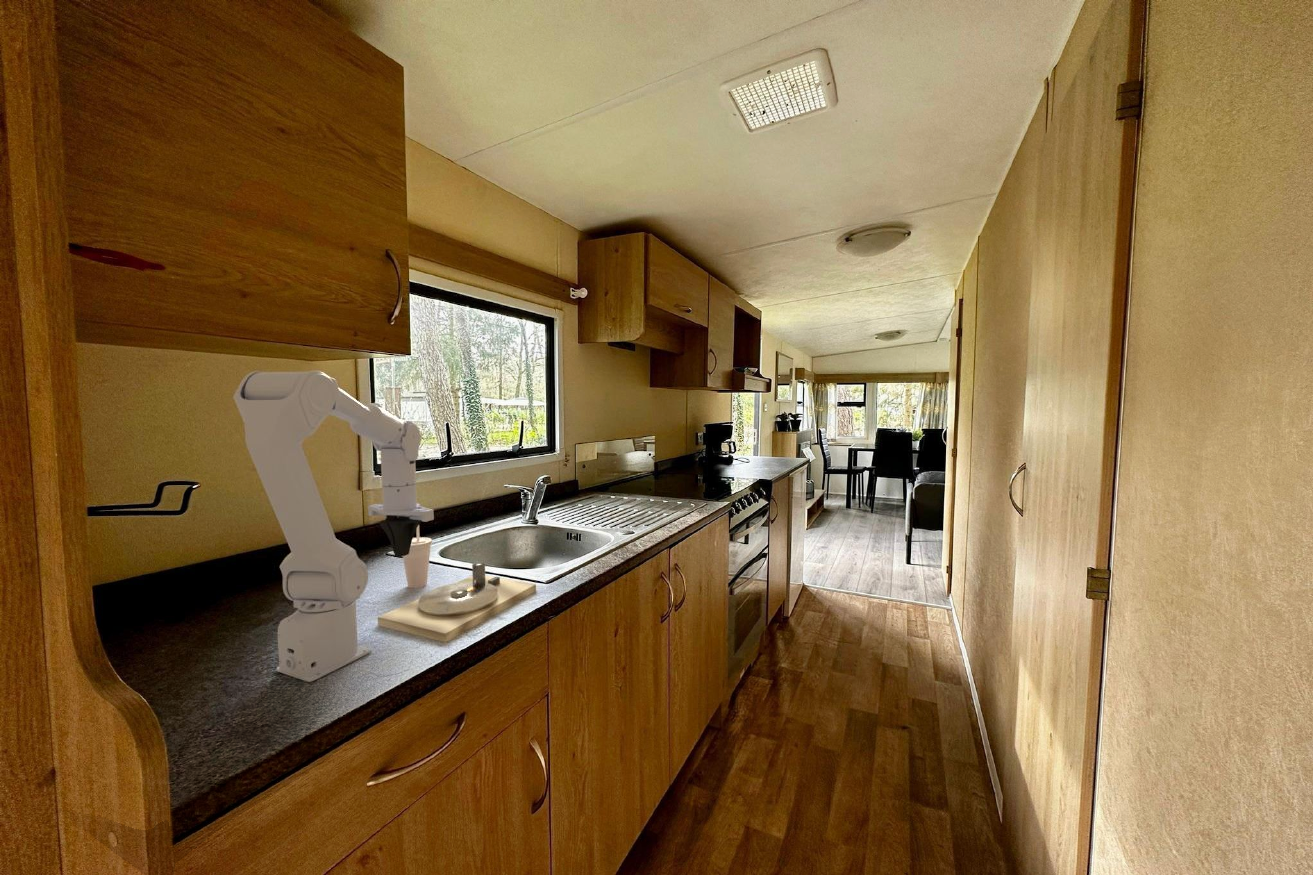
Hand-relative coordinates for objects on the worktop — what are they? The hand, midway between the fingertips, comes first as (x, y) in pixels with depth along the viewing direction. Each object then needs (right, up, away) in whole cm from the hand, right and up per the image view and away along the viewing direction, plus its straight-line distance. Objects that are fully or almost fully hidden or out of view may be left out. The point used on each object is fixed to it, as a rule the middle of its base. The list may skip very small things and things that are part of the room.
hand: (402, 555), depth 94 cm
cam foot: (+11, -9, 0) cm, 14 cm away
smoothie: (-3, -10, +13) cm, 17 cm away
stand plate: (+11, -10, 0) cm, 15 cm away
